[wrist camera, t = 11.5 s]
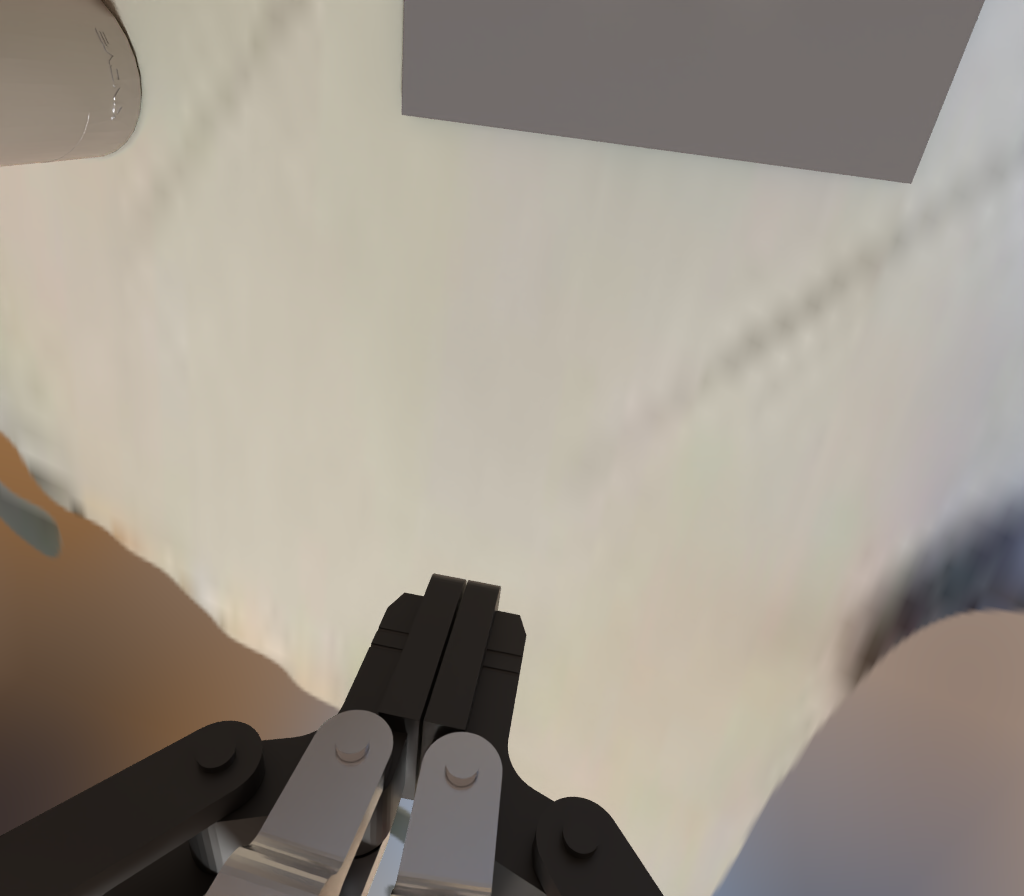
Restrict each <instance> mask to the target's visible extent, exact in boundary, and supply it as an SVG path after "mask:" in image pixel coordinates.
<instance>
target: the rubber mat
mask: <svg viewBox="0 0 1024 896" xmlns="http://www.w3.org/2000/svg"><path fill="white" fill-rule="evenodd" d="M984 1H985V0H404V31H403V77H402V115H408V116H415V117H423V118H430V119H438V120H445V121H452V122H460V123H467V124H474V125H482V126H489V127H497V128H504V129H511V130H519V131H526V132H533V133H541V134H548V135H556V136H563V137H570V138H578V139H585V140H592V141H600V142H607V143H615V144H622V145H629V146H637V147H644V148H651V149H659V150H666V151H674V152H681V153H688V154H696V155H703V156H710V157H718V158H725V159H733V160H740V161H747V162H755V163H762V164H769V165H777V166H784V167H792V168H799V169H806V170H814V171H821V172H829V173H836V174H843V175H851V176H858V177H865V178H873V179H880V180H888V181H895V182H902V183H910V184H911V183H912V180H913V178H914V175H915V173H916V170H917V168H918V165H919V163H920V160H921V158H922V155H923V153H924V150H925V148H926V145H927V143H928V140H929V138H930V135H931V133H932V130H933V128H934V125H935V123H936V120H937V118H938V115H939V113H940V110H941V108H942V105H943V103H944V100H945V98H946V95H947V93H948V90H949V88H950V86H951V83H952V81H953V78H954V76H955V73H956V71H957V68H958V66H959V63H960V61H961V58H962V56H963V53H964V51H965V48H966V46H967V43H968V41H969V38H970V36H971V33H972V31H973V28H974V26H975V23H976V21H977V18H978V16H979V13H980V11H981V8H982V6H983V3H984Z"/></svg>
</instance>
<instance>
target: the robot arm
mask: <svg viewBox="0 0 1024 896" xmlns="http://www.w3.org/2000/svg"><path fill="white" fill-rule="evenodd" d="M140 105H141V87H140V77H139V73H138V68H137V64H136V60H135V57H134V54H133V52H132V49H131V47H130V45H129V42H128V40H127V37H126V36H125V34H124V32H123V30H122V29H121V27H120V25H119V24H118V22H117V20H116V18H115V17H114V16H113V15H112V13H111V12H110V11H109V10H108V8H107V7H106V6H105V5H104V3H103V2H102V1H101V0H0V167H2V166H12V165H22V164H32V163H45V162H55V161H64V160H73V159H83V158H92V157H101V156H105V155H108V154H110V153H113V152H115V151H117V150H118V149H119V148H120V147H121V146H123V145H124V144H125V143H126V142H127V141H128V139H129V138H130V136H131V135H132V133H133V132H134V130H135V127H136V124H137V121H138V118H139V114H140ZM500 591H501V586H496V585H491V584H486V583H481V582H476V581H471V580H468V582H467V585H466V580H465V579H460V578H455V577H449V576H444V575H439V574H433V575H432V577H431V579H430V582H429V584H428V587H427V590H426V592H425V595H424V596H419V595H414V594H409V593H404V594H403V595H401V596H400V597H399V598H398V599H397V600H396V601H395V602H394V603H392V604H391V605H390V606H389V607H388V608H387V610H386V612H385V615H384V617H383V619H382V621H381V623H380V625H379V629H378V631H377V632H376V634H375V636H374V639H373V641H372V643H371V647H369V650H368V652H367V654H366V656H365V658H364V660H363V663H362V665H361V667H360V669H359V671H358V674H357V676H356V678H355V680H354V682H353V685H352V687H351V689H350V691H349V693H348V695H347V698H346V700H345V702H344V704H343V706H342V708H341V710H340V711H339V713H338V714H337V715H335V716H333V717H332V718H330V719H328V720H327V721H326V722H325V723H324V724H323V725H322V726H321V727H320V728H319V729H318V730H317V731H315V732H313V733H310V734H307V735H304V736H300V737H294V738H284V739H274V740H264V741H261V739H260V737H259V734H258V733H257V732H256V731H255V729H253V728H252V727H251V726H249V725H247V724H245V723H242V722H238V721H222V722H216V723H213V724H210V725H207V726H205V727H203V728H201V729H199V730H197V731H195V732H193V733H192V734H190V735H188V736H186V737H184V738H182V739H180V740H179V741H177V742H175V743H173V744H171V745H169V746H167V747H165V748H164V749H162V750H160V751H158V752H156V753H154V754H152V755H151V756H149V757H147V758H145V759H143V760H141V761H139V762H137V763H136V764H134V765H132V766H130V767H128V768H126V769H125V770H123V771H121V772H119V773H117V774H115V775H113V776H112V777H110V778H108V779H106V780H104V781H102V782H100V783H98V784H96V785H95V786H93V787H91V788H89V789H87V790H85V791H83V792H81V793H80V794H78V795H76V796H74V797H72V798H70V799H68V800H67V801H65V802H63V803H61V804H59V805H57V806H55V807H54V808H52V809H50V810H48V811H46V812H44V813H42V814H40V815H39V816H37V817H35V818H33V819H31V820H29V821H28V822H26V823H24V824H22V825H20V826H18V827H16V828H14V829H12V830H11V831H9V832H7V833H5V834H3V835H1V836H0V896H367V895H368V892H369V889H370V887H371V884H372V882H373V879H374V877H375V874H376V871H377V869H378V866H379V863H380V861H381V859H382V856H383V853H384V851H385V848H386V846H387V843H388V839H389V835H390V830H391V827H392V825H393V821H394V818H395V815H396V812H397V809H398V805H399V802H400V799H401V798H406V799H411V800H414V803H413V807H412V812H411V816H410V821H409V826H408V830H407V835H406V840H405V844H404V849H403V854H402V859H401V863H400V868H399V872H398V877H397V881H396V884H395V887H394V889H393V890H392V893H391V896H663V894H662V893H661V891H660V890H659V888H658V887H657V885H656V883H655V882H654V880H653V879H652V877H651V876H650V874H649V873H648V871H647V870H646V868H645V867H644V865H643V864H642V862H641V861H640V859H639V858H638V856H637V855H636V853H635V852H634V850H633V849H632V847H631V846H630V844H629V843H628V841H627V840H626V838H625V837H624V835H623V834H622V832H621V830H620V829H619V827H618V826H617V824H616V823H615V821H614V820H613V819H612V817H611V816H610V815H609V814H608V813H607V812H606V811H605V810H604V809H603V808H602V807H600V806H599V805H598V804H596V803H594V802H592V801H590V800H587V799H585V798H580V797H566V798H561V799H559V800H556V801H555V802H554V801H552V800H551V799H549V798H547V797H546V796H544V795H542V794H541V793H539V792H537V791H536V790H534V789H533V788H531V787H530V786H528V785H527V784H526V783H525V782H524V781H523V780H522V779H521V778H520V777H519V776H518V774H517V773H516V771H515V770H514V768H513V766H512V764H511V761H510V758H509V754H508V738H509V732H510V726H511V721H512V715H513V709H514V703H515V698H516V692H517V686H518V680H519V674H520V669H521V663H522V657H523V651H524V646H525V640H526V633H525V630H524V627H523V624H522V620H521V617H520V615H516V614H511V613H506V612H501V611H498V605H499V598H500Z"/></svg>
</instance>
